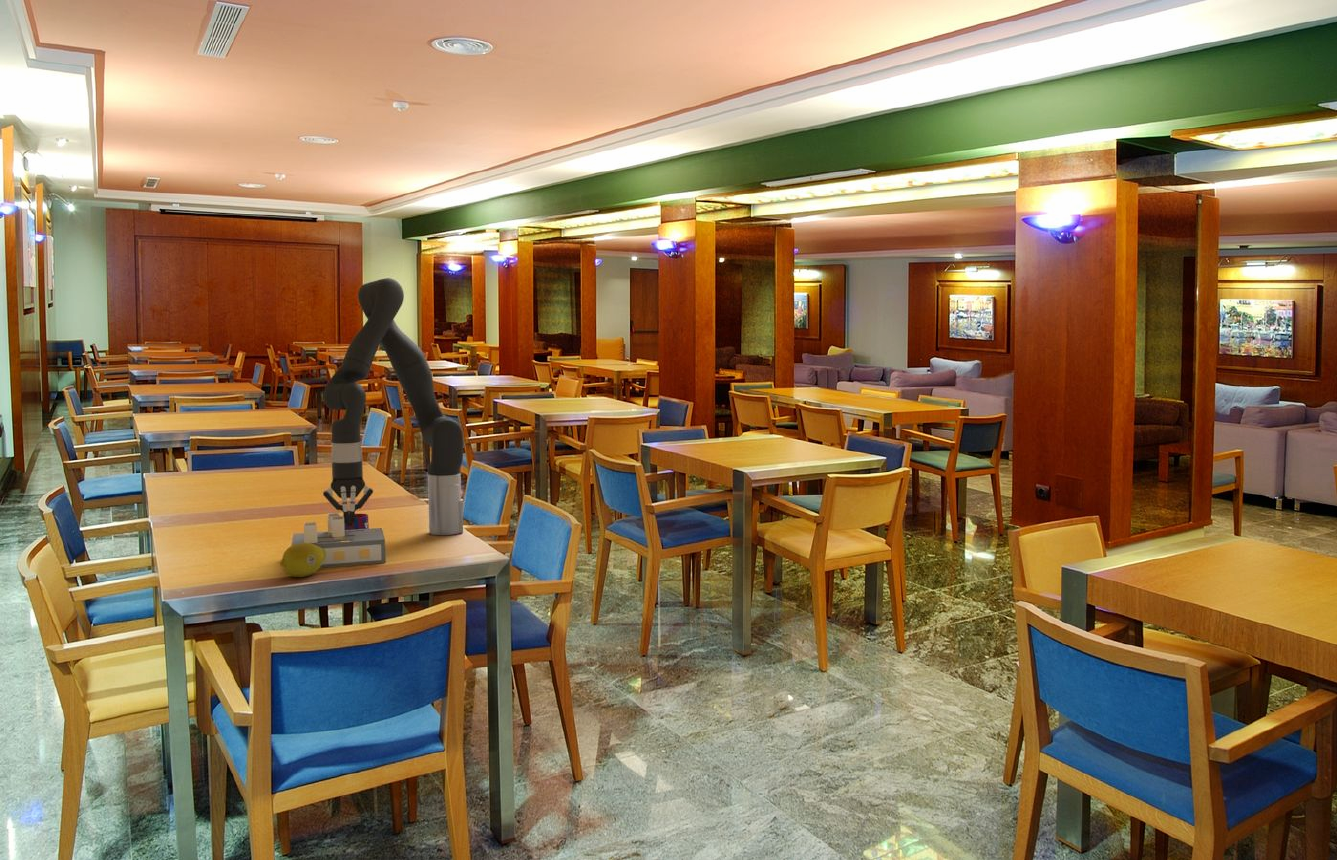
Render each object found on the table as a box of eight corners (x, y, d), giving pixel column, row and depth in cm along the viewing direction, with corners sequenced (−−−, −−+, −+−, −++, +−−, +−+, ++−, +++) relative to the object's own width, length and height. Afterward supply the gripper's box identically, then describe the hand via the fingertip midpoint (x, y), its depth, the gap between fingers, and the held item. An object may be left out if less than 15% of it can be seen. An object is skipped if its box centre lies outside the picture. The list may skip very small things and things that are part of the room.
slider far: (340, 530, 256) (339, 512, 255) (340, 532, 253) (339, 514, 252) (328, 531, 255) (327, 513, 254) (328, 533, 252) (327, 515, 251)
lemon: (284, 583, 227) (283, 549, 226) (276, 576, 233) (274, 543, 232) (331, 576, 233) (330, 543, 232) (322, 569, 239) (321, 537, 238)
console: (382, 550, 260) (381, 527, 260) (385, 563, 246) (385, 539, 245) (294, 556, 253) (293, 533, 252) (292, 570, 238) (291, 545, 238)
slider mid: (344, 534, 251) (343, 516, 250) (344, 536, 248) (344, 518, 247) (332, 535, 250) (331, 516, 249) (332, 537, 247) (331, 519, 246)
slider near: (317, 540, 243) (316, 521, 243) (317, 542, 241) (316, 524, 240) (304, 541, 242) (303, 522, 242) (304, 543, 240) (303, 525, 239)
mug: (360, 542, 269) (359, 518, 268) (328, 540, 272) (327, 516, 271) (373, 537, 275) (372, 514, 275) (343, 535, 278) (342, 512, 278)
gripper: (372, 456, 259) (375, 521, 260) (320, 458, 254) (322, 524, 256) (374, 460, 252) (376, 526, 253) (319, 462, 247) (322, 529, 249)
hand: (349, 525), depth 255 cm, fingers closed
